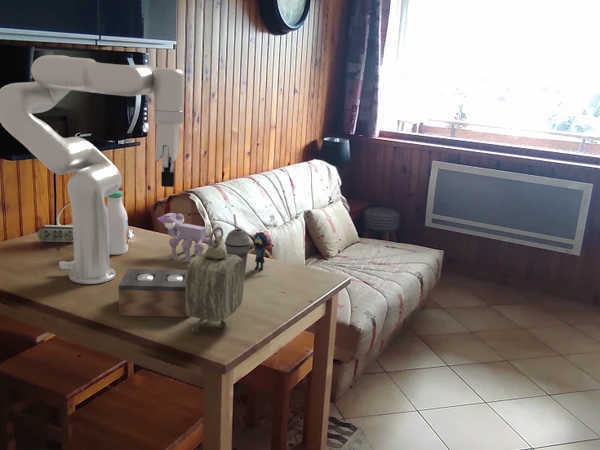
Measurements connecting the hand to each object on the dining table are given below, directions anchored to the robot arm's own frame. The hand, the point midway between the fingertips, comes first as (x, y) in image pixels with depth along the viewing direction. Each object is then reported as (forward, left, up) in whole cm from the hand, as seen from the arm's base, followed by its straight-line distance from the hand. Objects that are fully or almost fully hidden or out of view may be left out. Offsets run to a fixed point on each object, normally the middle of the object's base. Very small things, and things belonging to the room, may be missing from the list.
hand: (167, 186), depth 163 cm
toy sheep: (+2, +27, -29) cm, 40 cm away
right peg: (+4, -14, -29) cm, 32 cm away
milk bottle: (-20, +29, -29) cm, 46 cm away
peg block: (-1, -14, -29) cm, 32 cm away
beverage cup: (+19, +6, -29) cm, 35 cm away
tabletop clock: (+15, -25, -29) cm, 41 cm away
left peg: (-4, -14, -29) cm, 32 cm away
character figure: (+26, +16, -29) cm, 42 cm away
